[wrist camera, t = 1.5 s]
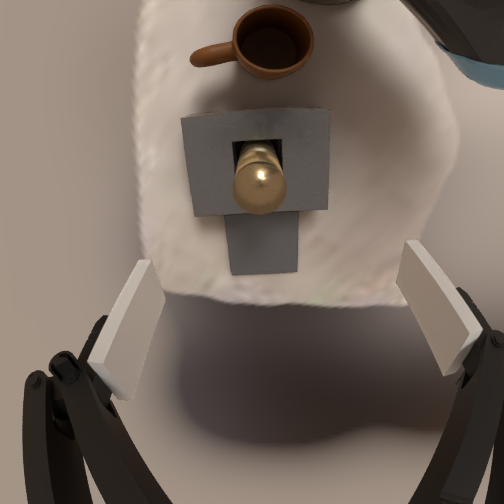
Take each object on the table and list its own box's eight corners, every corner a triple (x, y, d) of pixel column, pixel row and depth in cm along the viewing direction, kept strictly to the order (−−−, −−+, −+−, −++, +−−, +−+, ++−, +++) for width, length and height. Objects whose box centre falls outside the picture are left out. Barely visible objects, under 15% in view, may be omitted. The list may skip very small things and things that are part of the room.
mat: (224, 213, 39) (224, 215, 38) (297, 209, 39) (298, 211, 38) (232, 272, 44) (231, 275, 44) (296, 268, 44) (297, 271, 43)
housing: (190, 114, 32) (180, 118, 28) (319, 107, 31) (329, 109, 27) (201, 201, 38) (194, 216, 34) (319, 195, 38) (327, 209, 33)
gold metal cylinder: (239, 138, 34) (230, 166, 22) (274, 136, 33) (286, 162, 22) (241, 171, 36) (235, 216, 24) (275, 169, 36) (287, 213, 24)
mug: (210, 94, 31) (195, 95, 23) (195, 41, 27) (175, 26, 19) (306, 74, 29) (324, 68, 21) (292, 20, 25) (304, -2, 17)
